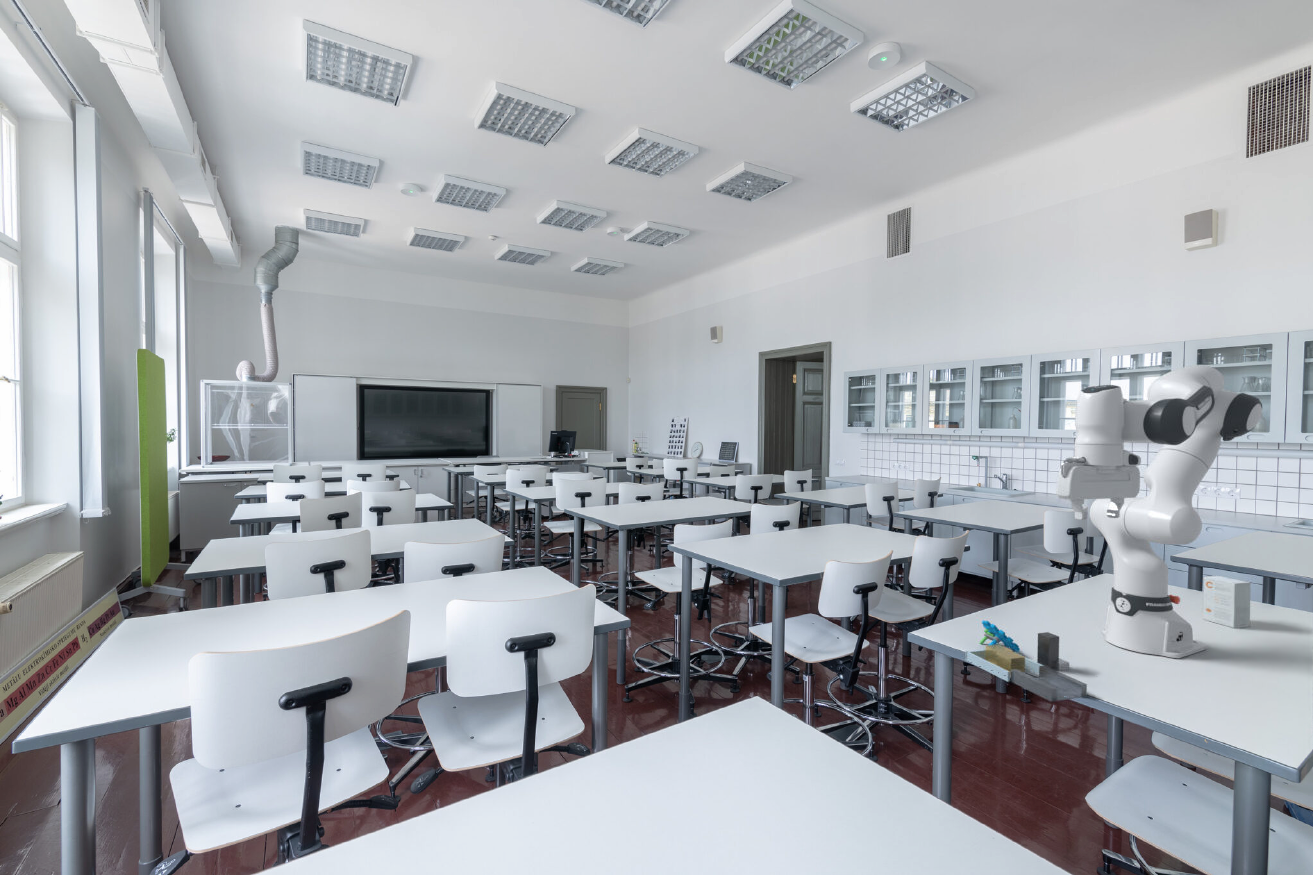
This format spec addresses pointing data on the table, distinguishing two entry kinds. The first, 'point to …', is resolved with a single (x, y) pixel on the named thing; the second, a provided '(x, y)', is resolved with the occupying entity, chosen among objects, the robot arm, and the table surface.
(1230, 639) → the table surface
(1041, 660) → the dark grey stepped block
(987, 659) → the tan block
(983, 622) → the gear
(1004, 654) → the chip
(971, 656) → the tray
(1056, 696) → the slot rail
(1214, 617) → the small box
